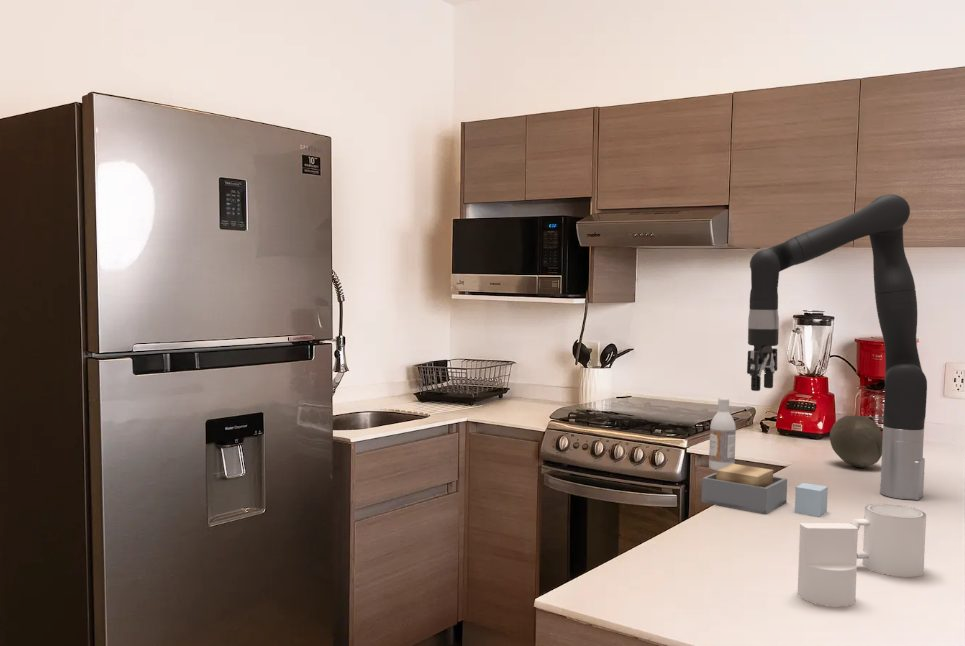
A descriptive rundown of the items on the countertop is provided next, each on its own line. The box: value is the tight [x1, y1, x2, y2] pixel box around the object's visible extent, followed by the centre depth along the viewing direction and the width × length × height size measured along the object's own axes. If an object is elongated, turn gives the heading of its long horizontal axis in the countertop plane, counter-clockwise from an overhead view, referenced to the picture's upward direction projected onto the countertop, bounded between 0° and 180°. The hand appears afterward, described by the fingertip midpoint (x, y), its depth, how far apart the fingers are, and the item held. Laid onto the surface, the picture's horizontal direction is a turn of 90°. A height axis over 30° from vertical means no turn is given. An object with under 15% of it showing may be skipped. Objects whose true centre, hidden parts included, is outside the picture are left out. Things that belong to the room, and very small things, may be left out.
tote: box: [700, 471, 788, 515], centre depth 203 cm, size 16×14×6 cm
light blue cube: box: [794, 482, 829, 518], centre depth 195 cm, size 6×6×6 cm
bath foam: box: [708, 397, 737, 471], centre depth 239 cm, size 7×7×20 cm
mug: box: [850, 503, 927, 578], centre depth 157 cm, size 14×10×11 cm
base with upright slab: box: [797, 522, 859, 607], centre depth 141 cm, size 9×9×12 cm
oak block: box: [715, 463, 774, 488], centre depth 203 cm, size 10×10×7 cm
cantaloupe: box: [829, 415, 883, 469], centre depth 245 cm, size 14×14×15 cm
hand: (762, 389), depth 221 cm, fingers open, 8 cm apart
